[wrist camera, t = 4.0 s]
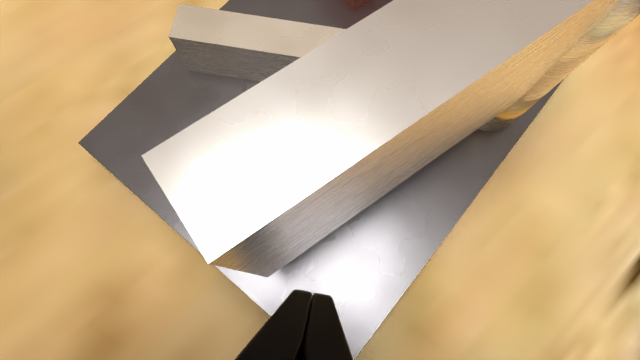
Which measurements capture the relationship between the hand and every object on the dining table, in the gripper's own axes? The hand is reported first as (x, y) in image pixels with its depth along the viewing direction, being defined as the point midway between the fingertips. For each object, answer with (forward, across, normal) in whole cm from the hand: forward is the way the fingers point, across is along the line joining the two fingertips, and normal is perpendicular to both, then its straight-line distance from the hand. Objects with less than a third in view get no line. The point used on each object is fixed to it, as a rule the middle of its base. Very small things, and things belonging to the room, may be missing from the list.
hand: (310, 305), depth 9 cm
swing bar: (+7, -2, -1) cm, 7 cm away
